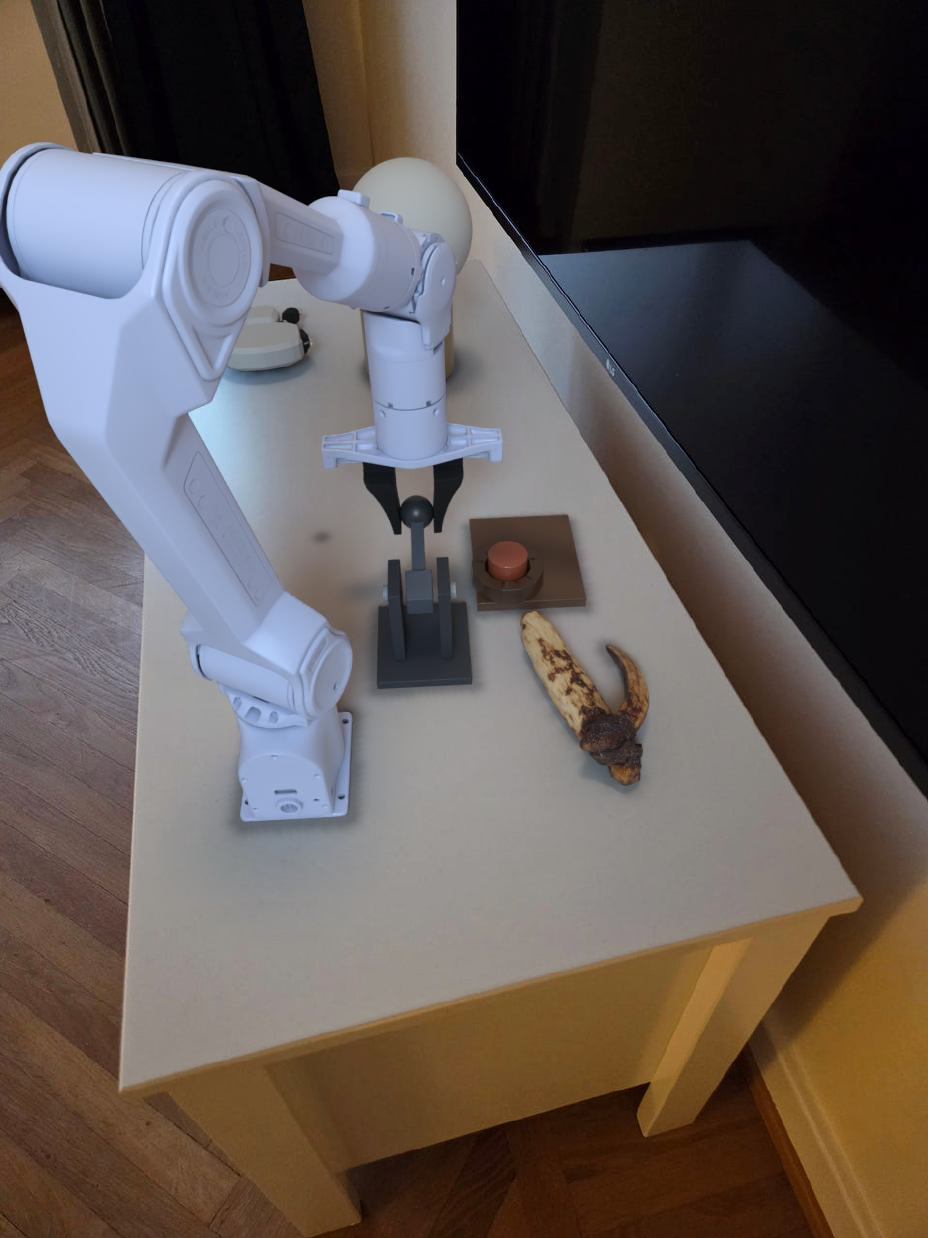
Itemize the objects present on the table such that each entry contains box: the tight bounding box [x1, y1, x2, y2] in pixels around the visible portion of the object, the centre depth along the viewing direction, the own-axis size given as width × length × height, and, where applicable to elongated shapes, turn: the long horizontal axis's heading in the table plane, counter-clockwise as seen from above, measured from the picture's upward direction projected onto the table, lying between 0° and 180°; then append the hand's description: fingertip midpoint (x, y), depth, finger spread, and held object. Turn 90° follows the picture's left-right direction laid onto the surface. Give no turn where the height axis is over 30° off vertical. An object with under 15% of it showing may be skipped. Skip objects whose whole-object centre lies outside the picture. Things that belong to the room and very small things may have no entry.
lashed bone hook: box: [520, 610, 650, 786], centre depth 68 cm, size 9×5×18 cm
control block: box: [468, 514, 587, 612], centre depth 80 cm, size 12×10×3 cm
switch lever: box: [400, 494, 435, 614], centre depth 71 cm, size 11×3×3 cm, turn 3°
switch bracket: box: [376, 556, 473, 690], centre depth 71 cm, size 9×8×9 cm
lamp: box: [352, 156, 474, 380], centre depth 96 cm, size 15×14×25 cm
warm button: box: [488, 541, 528, 581], centre depth 76 cm, size 4×4×2 cm
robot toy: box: [226, 305, 314, 372], centre depth 108 cm, size 12×4×15 cm
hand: (418, 526), depth 74 cm, fingers closed on switch lever, 3 cm apart
